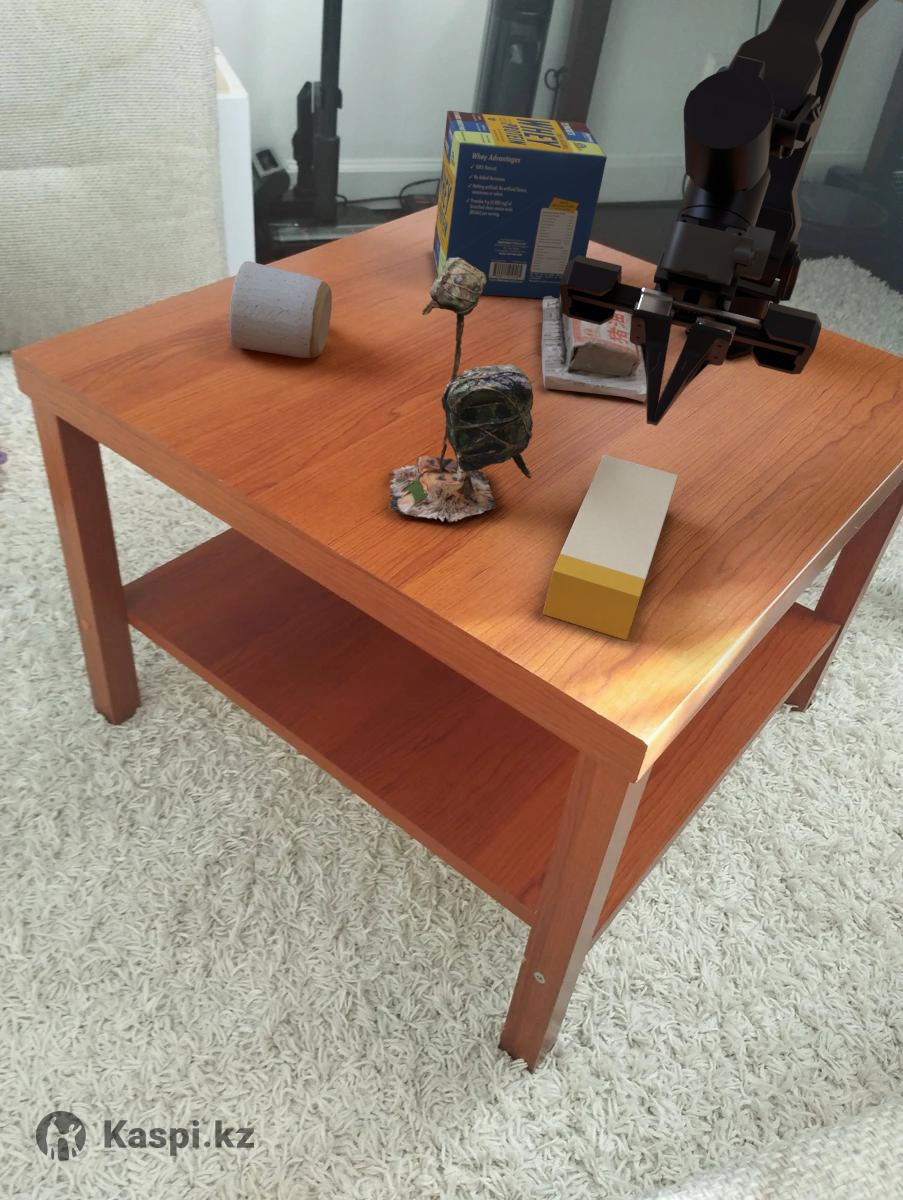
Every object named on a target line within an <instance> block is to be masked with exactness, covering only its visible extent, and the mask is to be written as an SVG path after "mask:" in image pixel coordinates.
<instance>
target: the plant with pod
mask: <svg viewBox="0 0 903 1200" xmlns="http://www.w3.org/2000/svg"><path fill="white" fill-rule="evenodd" d="M485 284H486V276H485V274H484V273H483V272H481V271H480V270H478V269H477V268H476V267H473V266H471V265H470V264H469V263H467V262H466V261H465V260H463V259H462V258H459V257H456V258H452V257H450V258H448V259H447V261H446V263H445V265H444V267H443V270H442V273H441V274H440V275H439V276H438V275H437V277H436V278H435V279H434V281H433V283H432V285H431V288H430V289H429V295H430V298H431V300H430V301H429V302H427V303H426V306H425V307H424V308H423V309H422V311H421V315H423V316H427V315H429V314H430V313H431V311H432V310H433V309H440V310H447V311H451V312H453V313H454V314H456V323H455V324H456V328H455V331H456V333H455V342H456V343H455V349H454V350H455V351H454V352H455V353H454V361H453V367H452V373H451V375H450V376H451V377H450V381H448V383H447V384H446V385H445V388H444V391H443V393H442V394H443V395H442V396H441V398H440V399H441V404H442V406H441V407H442V409H443V411H444V413H445V419H444V423H445V428H444V437H443V442H442V450H441V453H440V456H435V455H421V456H418V457H417V458H416V462H415V463H414V464H413V465H407V464H405V467H403V466H401V467H400V468H394V469H393V470H392V472H389V473H387V476H389V477H390V478H392V479H391V480H390V481H388V484H389V483H392V484H391V485H390V486H389V487H390V488H391V490H388V491H387V492H388V493H389V494H390V496H389V497H391V498H390V501H388V503H389V504H390V505H388V506H387V507H388V508H389V509H391V510H393V511H394V513H398V514H403V515H407V516H413V517H414V518H427V519H435V520H437V519H439V520H440V521H441V522H444V521H445V519H446V520H447V522H448V523H454V522H458V521H459V520H462V519H464V518H467V517H471V516H474V515H482V514H484V513H485V511H491V510H492V511H493V510H497V508H498V504H497V503H496V502H495V500H494V496H493V495H492V494H493V492H492V491H491V488H490V487H491V486H490V485H489V482H490V480H489V479H487V478H488V476H486V475H485V474H484V473H483V471H482V470H483V469H484V468H486V467H489V466H492V465H497V464H498V465H499V464H504V463H506V462H507V461H509V460H511V459H512V460H513V462H514V463H515V465H516V466H517V468H518V469H519V470H520V471H521V473H523V475H524V476H525V477H526V478H527V479H528V480H530V479H532V471H531V470H530V468H529V467H528V466H527V464H526V461H525V460H524V459H523V456H522V453H524V451H525V450H526V449H527V448H528V446H529V444H530V440H532V438H533V432H532V431H533V427H534V425H533V424H534V421H533V415H532V413H531V411H532V410H533V405H534V393H533V386H532V385H533V384H534V383H535V380H531V381H530V379H529V377H528V376H527V375H526V374H525V372H524V371H523V370H522V369H520V368H519V367H517V366H516V365H513V364H511V363H508V364H507V363H506V364H494V365H484V366H476V367H475V366H474V367H473V368H471V369H466V370H463V372H462V373H461V374H459V375H458V372H459V370H460V364H461V356H462V347H461V345H462V342H463V341H462V338H463V334H464V327H465V316H468V315H470V314H471V313H472V312H473V311H474V309H475V308H476V307H477V306H478V304H479V302H480V297H481V295H482V294H481V293H482V291H483V290H484V287H485ZM447 442H448V443H449V445H450V447H451V448H452V450H453V454H454V456H455V458H456V460H454V459H453V458H450V457H445V455H446V451H447V448H448V447H447V446H448V445H447Z"/></svg>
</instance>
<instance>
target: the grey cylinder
mask: <svg viewBox="0 0 903 1200" xmlns="http://www.w3.org/2000/svg"><path fill="white" fill-rule="evenodd" d="M332 295H333V294H332V289H331V287H330V285H329V283H327V282H325V281H324V280H321V279H319V278H317V277H314V276H311V275H307V274H303V273H298V272H293V271H290V270H286V269H283V268H279V267H278V268H277V267H274V266H269V265H266V264H261V263H257V262H254V261H250V260H248V261H247V260H246V261H243V263H241V265H240V266H239V269H238V271H237V273H236V275H235V278H234V281H233V285H232V292H231V296H230V305H229V307H230V308H229V325H228V326H229V327H228V328H229V335H230V342H231V344H232V345H233V346H234V347H235V348H237V349H243V350H251V351H256V352H262V353H269V354H275V355H283V356H288V357H293V358H299V359H300V358H301V359H314V358H317V357H318V356H320V355H321V354H322V352H323V350H324V348H325V345H326V342H327V337H328V334H329V329H330V325H331V324H330V323H331V315H332V304H333V296H332Z"/></svg>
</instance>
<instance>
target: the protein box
mask: <svg viewBox="0 0 903 1200" xmlns="http://www.w3.org/2000/svg"><path fill="white" fill-rule="evenodd" d="M607 159H608V156H607V155H606V154H605V151H603V149H602V147H601V146H600V145H599V143H598V142H597V140H596V138H595V137H594V135H593V134H592V132H591V131H590V129H589V127H588V126H587V124H586V123H585V122H580V121H567V120H554V119H542V118H534V117H533V118H531V117H521V116H520V117H519V116H511V115H500V114H486V113H475V112H467V111H457V110H447V112H446V122H445V131H444V140H443V151H442V161H441V170H440V181H439V189H438V190H439V191H438V197H437V198H438V200H437V208H436V217H435V227H434V236H433V247H432V255H433V259H434V264H435V270H436V274H437V277H438V276H439V275H440V274H441V273H442V270H443V267H444V265H445V263H446V261H447V259H448V258H450V257H452V258H456V257H459V258H462V259H463V260H465V261H466V262H467V263H469V264H470V265H471V266H473V267H476V268H477V269H478V270H480V271H481V272H483V273H484V274H485V276H486V284H485V287H484V290H483V291H482V293H481V295H483V296H495V297H496V296H497V297H498V296H499V297H511V298H513V297H515V298H526V299H527V298H528V299H542V300H543V297H546V296H552V297H553V298H557V299H558V298H559V297H560V283H561V280H562V277H563V274H564V271H565V268H566V265H567V264H568V262H569V261H571V260H572V259H573V258H575V257H576V256H578V255H579V256H584V257H587V254H588V249H589V245H590V239H591V235H592V230H593V225H594V220H595V215H596V211H597V206H598V201H599V197H600V192H601V187H602V183H603V178H604V173H605V167H606V164H607V163H606V162H607Z"/></svg>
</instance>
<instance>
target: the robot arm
mask: <svg viewBox="0 0 903 1200" xmlns="http://www.w3.org/2000/svg"><path fill="white" fill-rule="evenodd" d="M879 1H880V0H780V2H779V4H778V6H777V8H776V10H775V12H774V15H773V16H772V19H771V20H770V22H769V24H768V26H767V28H766V30H763V31H761V32H760V33H758V34H756V35H755V36H752V37H750V38H749V39H747V40H746V41H744V42H742V43H741V44H740V46H739V47H738V49H737V51H736V52H735V54H734V56H733V58H732V60H731V61H730V62H729V65H728V66H727V68H726V70H722V71H718V72H716V73H715V72H714V73H713V74H711V75H709V76H706V77H705V78H704V79H703V80H701V81H700V82H699V83H697V84H696V86H695V87H694V88H693V89H691V90H689V92H688V94H687V97H686V99H685V101H684V104H683V105H684V106H683V139H684V140H683V141H684V164H685V165H684V168H685V169H684V170H685V173H686V175H687V176H688V178H689V179H688V182H687V185H686V187H685V191H684V194H683V198H682V200H681V203H680V207H679V210H678V213H677V216H676V220H675V221H673V223H672V226H671V229H670V233H669V236H668V239H667V241H666V242H665V244H664V245H663V247H662V250H661V254H660V256H659V259H658V262H657V266H656V269H655V271H654V276H653V283H654V284H655V285H654V288H653V289H652V288H648V287H638V286H633V285H629V284H625V283H622V273H623V272H622V271H623V266H622V265H620V264H616V263H611V262H608V261H603V260H599V259H596V258H592V257H587V256H586V257H584V256H579V255H578V256H576V257H575V258H573V259H572V260H571V261H569V262H568V264H567V265H566V268H565V271H564V274H563V277H562V280H561V283H560V295H561V305H562V313H563V314H565V315H566V316H568V317H570V318H574V319H578V320H582V321H585V322H589V323H593V324H597V325H602V324H604V323H606V322H608V321H609V320H611V319H613V317H614V314H615V311H616V310H618V311H622V312H626V313H629V314H632V318H631V328H630V342H631V343H633V344H635V345H638V346H640V347H641V353H642V357H643V364H644V370H645V376H646V400H645V402H646V403H645V405H646V406H645V407H646V424H648V425H653V426H655V427H657V426H658V425H659V424H660V422H661V421H662V420H663V418H664V417H665V416H666V414H667V413H668V412H669V410H670V409H671V408H672V406H674V404H675V403H676V402H677V400H678V399H679V397H680V396H681V395H682V393H683V392H684V390H686V388H687V387H688V386H689V385H690V384H691V382H693V381H694V379H696V378H697V377H698V376H699V375H700V374H701V372H703V371H704V369H706V368H707V366H709V365H711V366H716V367H717V366H719V367H720V366H723V364H724V361H725V359H727V360H731V359H735V358H739V357H743V356H746V355H750V354H751V356H752V358H753V360H754V361H755V363H756V364H757V366H758V367H761V368H764V369H765V368H766V369H769V370H772V371H777V372H780V373H785V374H789V375H800V374H802V372H803V371H804V369H805V366H806V365H807V363H808V362H809V360H810V358H811V357H812V355H813V353H814V351H815V350H816V347H817V343H818V341H819V337H820V334H821V330H822V326H823V323H822V321H821V319H820V317H819V315H818V313H816V312H812V311H808V310H804V309H800V308H796V307H792V306H787V305H783V304H780V303H781V302H789V301H790V300H791V299H792V295H793V292H794V290H795V287H796V284H797V280H798V277H799V273H800V269H801V265H802V258H801V257H800V253H801V252H800V249H801V243H800V242H797V239H798V236H799V233H800V231H801V228H802V216H801V215H802V214H801V210H800V205H799V199H798V189H799V186H800V183H801V180H802V177H803V174H804V171H805V170H806V166H807V164H808V161H809V158H810V156H811V152H812V150H813V147H814V144H815V141H816V139H817V136H818V133H819V130H820V128H821V126H822V122H823V120H824V118H825V114H826V111H827V108H828V106H829V103H830V100H831V97H832V94H833V92H834V89H835V87H836V84H837V81H838V78H839V76H840V73H841V70H842V68H843V65H844V62H845V59H846V57H847V54H848V51H849V49H850V46H851V43H852V40H853V37H854V34H855V31H856V28H857V27H858V24H859V22H860V20H861V18H863V17H864V15H866V13H867V12H869V10H871V9H872V8H873V7H874V5H876V4H877V3H878V2H879ZM777 279H778V280H777ZM672 325H674V326H677V327H681V328H685V331H684V335H686V336H687V337H686V339H685V342H684V344H683V346H682V349H681V351H680V353H679V356H678V358H677V360H676V362H675V364H674V367H673V369H672V371H671V373H670V375H669V378H668V379H667V381H666V384H665V386H664V388H663V391H662V393H661V387H662V384H663V383H662V382H663V377H664V371H665V365H666V360H667V359H666V358H667V352H668V346H669V341H670V336H671V330H672ZM660 394H661V395H660Z"/></svg>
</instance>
